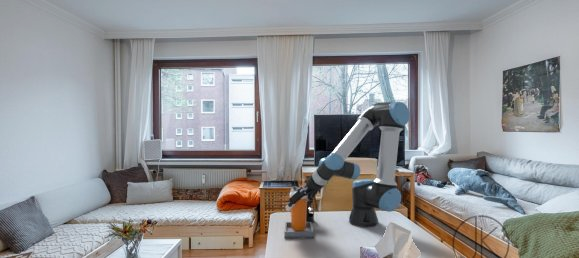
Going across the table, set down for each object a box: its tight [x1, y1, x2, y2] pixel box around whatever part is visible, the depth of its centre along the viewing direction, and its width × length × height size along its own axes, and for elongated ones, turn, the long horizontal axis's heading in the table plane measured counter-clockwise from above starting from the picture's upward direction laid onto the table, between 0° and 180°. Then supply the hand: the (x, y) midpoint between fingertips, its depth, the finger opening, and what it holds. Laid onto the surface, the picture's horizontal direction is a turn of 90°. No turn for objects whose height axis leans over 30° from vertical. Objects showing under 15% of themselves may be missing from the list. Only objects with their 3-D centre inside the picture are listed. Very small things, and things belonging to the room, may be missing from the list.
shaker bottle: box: [289, 186, 308, 231], centre depth 146 cm, size 9×9×20 cm
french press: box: [301, 178, 315, 224], centre depth 163 cm, size 12×9×23 cm
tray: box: [284, 221, 314, 239], centre depth 146 cm, size 14×14×3 cm
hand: (293, 207), depth 148 cm, fingers closed on shaker bottle, 9 cm apart
